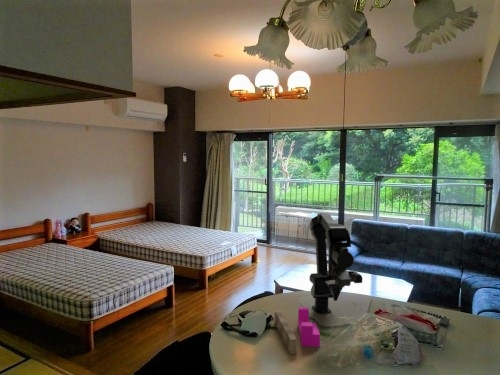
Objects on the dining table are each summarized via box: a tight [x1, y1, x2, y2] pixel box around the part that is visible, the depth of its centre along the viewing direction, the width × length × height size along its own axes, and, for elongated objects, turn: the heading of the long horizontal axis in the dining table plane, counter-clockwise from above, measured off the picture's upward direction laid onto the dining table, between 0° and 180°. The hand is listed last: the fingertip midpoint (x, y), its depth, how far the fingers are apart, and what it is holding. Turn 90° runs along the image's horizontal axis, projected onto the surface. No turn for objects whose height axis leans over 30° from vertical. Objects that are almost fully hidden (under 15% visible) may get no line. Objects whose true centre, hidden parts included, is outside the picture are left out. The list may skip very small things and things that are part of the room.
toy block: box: [297, 306, 321, 347], centre depth 125 cm, size 15×6×8 cm, turn 177°
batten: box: [274, 310, 298, 355], centre depth 123 cm, size 22×2×5 cm, turn 10°
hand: (335, 300), depth 126 cm, fingers closed
